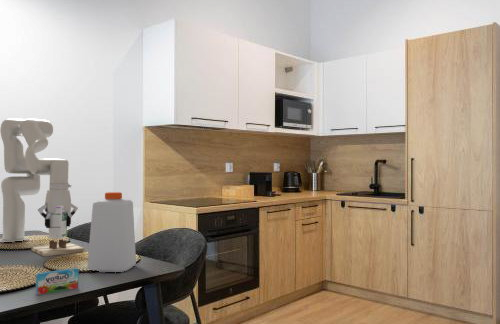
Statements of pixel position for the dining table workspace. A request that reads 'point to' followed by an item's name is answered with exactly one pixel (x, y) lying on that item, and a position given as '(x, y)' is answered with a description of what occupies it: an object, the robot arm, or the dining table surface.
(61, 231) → the syrup box
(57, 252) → the peg stand
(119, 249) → the plastic bottle
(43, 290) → the yogurt
